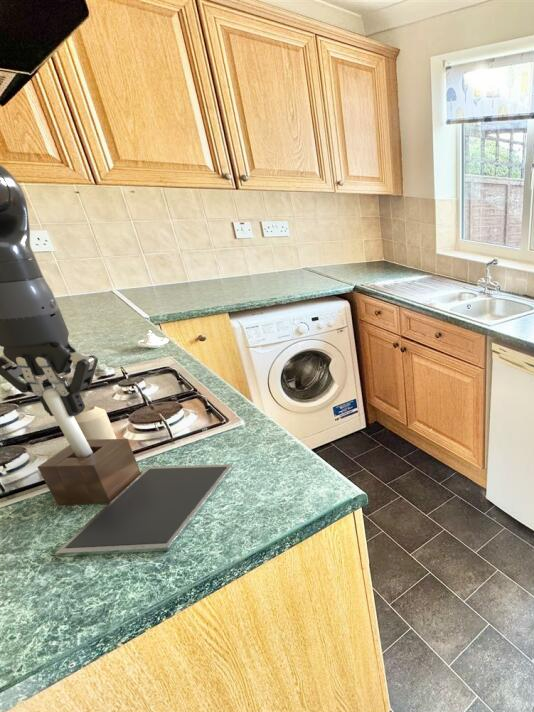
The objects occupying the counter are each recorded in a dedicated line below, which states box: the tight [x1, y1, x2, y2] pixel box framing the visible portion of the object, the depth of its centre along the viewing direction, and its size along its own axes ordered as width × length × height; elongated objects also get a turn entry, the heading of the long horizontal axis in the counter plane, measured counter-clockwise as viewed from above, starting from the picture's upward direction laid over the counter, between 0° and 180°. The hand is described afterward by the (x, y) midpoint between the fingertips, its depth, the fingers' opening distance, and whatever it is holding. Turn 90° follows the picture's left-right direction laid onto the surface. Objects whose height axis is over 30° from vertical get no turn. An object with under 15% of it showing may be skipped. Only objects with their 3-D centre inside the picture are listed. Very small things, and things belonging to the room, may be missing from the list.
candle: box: [74, 404, 118, 440], centre depth 82 cm, size 6×6×10 cm
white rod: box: [43, 388, 93, 458], centre depth 69 cm, size 2×2×16 cm
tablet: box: [54, 463, 235, 558], centre depth 71 cm, size 15×21×1 cm
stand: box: [37, 438, 142, 507], centre depth 73 cm, size 8×8×8 cm
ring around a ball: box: [136, 330, 169, 349], centre depth 134 cm, size 8×6×8 cm
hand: (67, 413), depth 68 cm, fingers closed on white rod, 2 cm apart
